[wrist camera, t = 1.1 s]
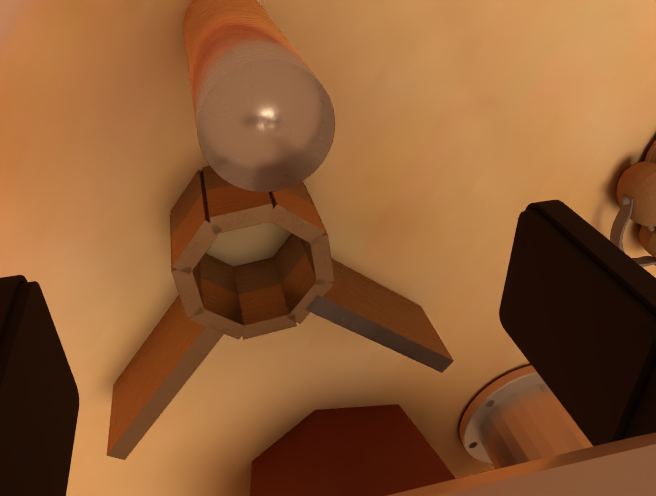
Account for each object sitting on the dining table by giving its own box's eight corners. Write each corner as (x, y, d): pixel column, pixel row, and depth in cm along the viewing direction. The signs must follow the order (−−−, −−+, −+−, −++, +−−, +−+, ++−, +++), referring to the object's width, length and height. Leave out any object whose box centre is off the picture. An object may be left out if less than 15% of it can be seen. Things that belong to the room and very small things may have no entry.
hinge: (452, 272, 42) (490, 323, 37) (295, 441, 48) (310, 505, 43) (223, 134, 32) (233, 179, 27) (63, 369, 38) (48, 441, 33)
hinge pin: (285, 22, 30) (361, 110, 18) (239, 91, 31) (283, 213, 20) (213, -33, 28) (249, 28, 16) (167, 43, 29) (170, 150, 18)
